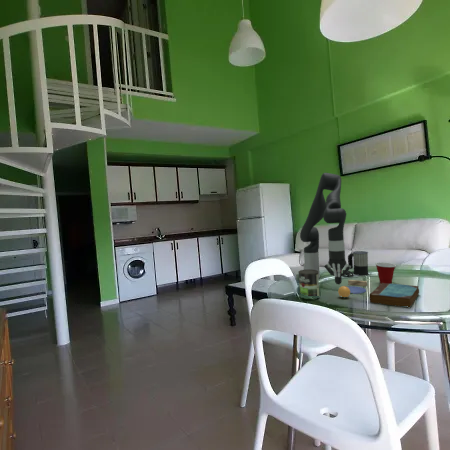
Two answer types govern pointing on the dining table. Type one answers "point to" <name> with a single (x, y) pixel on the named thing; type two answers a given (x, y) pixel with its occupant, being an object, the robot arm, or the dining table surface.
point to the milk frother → (358, 263)
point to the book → (394, 294)
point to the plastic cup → (385, 272)
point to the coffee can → (309, 282)
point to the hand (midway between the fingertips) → (338, 284)
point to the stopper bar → (357, 282)
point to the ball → (344, 291)
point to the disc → (356, 289)
